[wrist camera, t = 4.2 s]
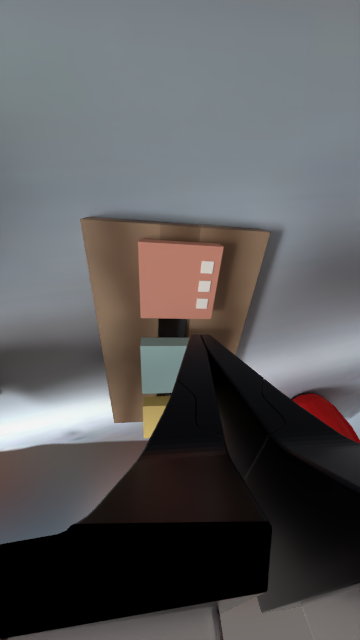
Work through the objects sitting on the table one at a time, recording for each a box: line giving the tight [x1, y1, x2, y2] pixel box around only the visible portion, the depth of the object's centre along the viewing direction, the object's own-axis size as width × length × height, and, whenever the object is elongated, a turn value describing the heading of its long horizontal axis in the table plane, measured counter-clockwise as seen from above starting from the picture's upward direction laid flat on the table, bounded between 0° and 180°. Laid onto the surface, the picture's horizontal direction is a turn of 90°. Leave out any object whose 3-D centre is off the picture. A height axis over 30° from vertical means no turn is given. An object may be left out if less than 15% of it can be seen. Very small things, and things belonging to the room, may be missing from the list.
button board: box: [80, 217, 270, 423], centre depth 21 cm, size 14×24×2 cm, turn 176°
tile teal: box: [140, 338, 189, 394], centre depth 20 cm, size 6×6×3 cm
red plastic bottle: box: [293, 393, 360, 443], centre depth 22 cm, size 9×11×25 cm
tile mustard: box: [143, 394, 171, 438], centre depth 24 cm, size 6×6×3 cm
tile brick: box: [138, 239, 224, 319], centre depth 16 cm, size 6×6×3 cm
